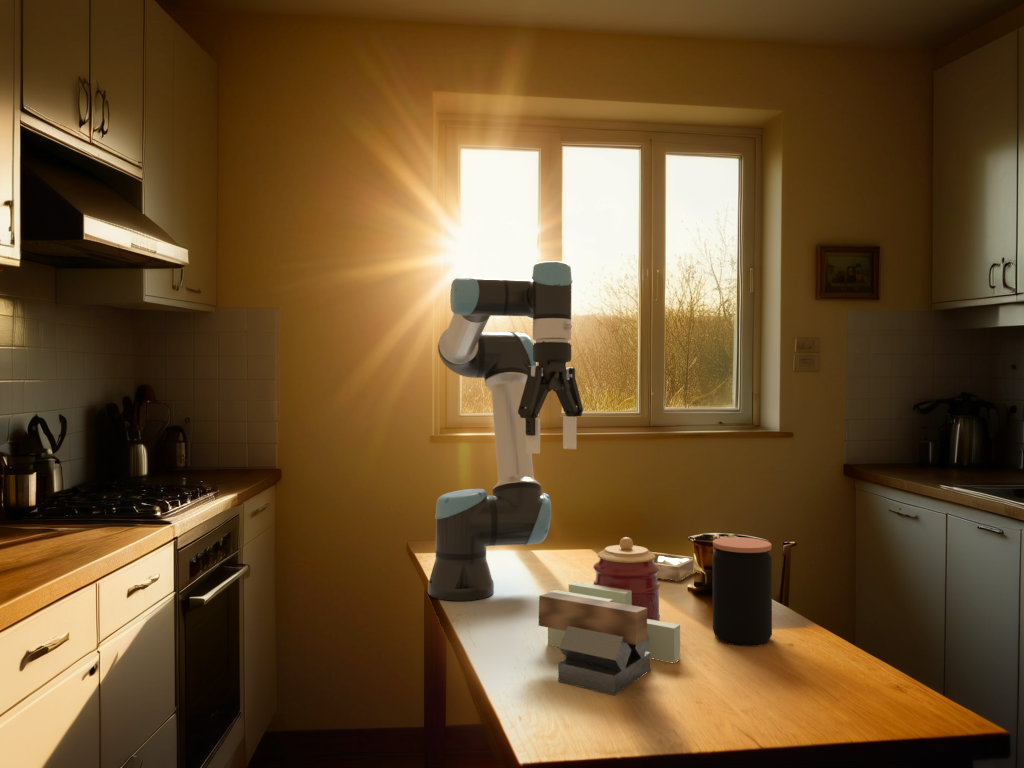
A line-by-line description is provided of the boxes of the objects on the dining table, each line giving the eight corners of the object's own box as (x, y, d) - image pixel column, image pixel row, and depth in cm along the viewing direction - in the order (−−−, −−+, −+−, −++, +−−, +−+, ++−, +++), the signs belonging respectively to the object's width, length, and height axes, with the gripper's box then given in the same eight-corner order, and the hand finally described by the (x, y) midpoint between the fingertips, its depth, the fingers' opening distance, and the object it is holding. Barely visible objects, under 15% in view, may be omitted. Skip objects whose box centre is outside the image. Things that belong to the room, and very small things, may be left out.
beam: (547, 644, 143) (547, 592, 143) (575, 630, 151) (575, 581, 151) (665, 670, 130) (665, 612, 130) (688, 653, 138) (688, 599, 138)
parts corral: (626, 573, 198) (626, 560, 198) (647, 564, 209) (647, 551, 209) (678, 581, 190) (678, 567, 190) (697, 571, 201) (697, 557, 201)
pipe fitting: (685, 579, 195) (691, 571, 201) (685, 564, 195) (691, 556, 201) (654, 576, 199) (660, 568, 205) (653, 561, 198) (660, 554, 204)
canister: (618, 641, 145) (618, 546, 145) (580, 622, 156) (580, 534, 156) (673, 631, 151) (673, 539, 151) (633, 614, 162) (633, 529, 162)
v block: (558, 681, 124) (558, 630, 125) (597, 658, 135) (597, 611, 135) (614, 695, 119) (614, 641, 119) (650, 670, 130) (650, 621, 130)
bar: (538, 625, 132) (539, 595, 132) (550, 621, 135) (551, 592, 135) (635, 644, 122) (636, 612, 122) (646, 639, 125) (647, 607, 125)
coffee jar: (772, 632, 150) (772, 539, 150) (771, 650, 140) (771, 549, 140) (715, 627, 153) (714, 535, 154) (710, 643, 143) (710, 545, 143)
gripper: (533, 337, 140) (533, 456, 139) (599, 344, 160) (599, 447, 160) (499, 339, 144) (499, 454, 144) (568, 345, 164) (568, 446, 164)
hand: (552, 451), depth 152 cm, fingers open, 13 cm apart
